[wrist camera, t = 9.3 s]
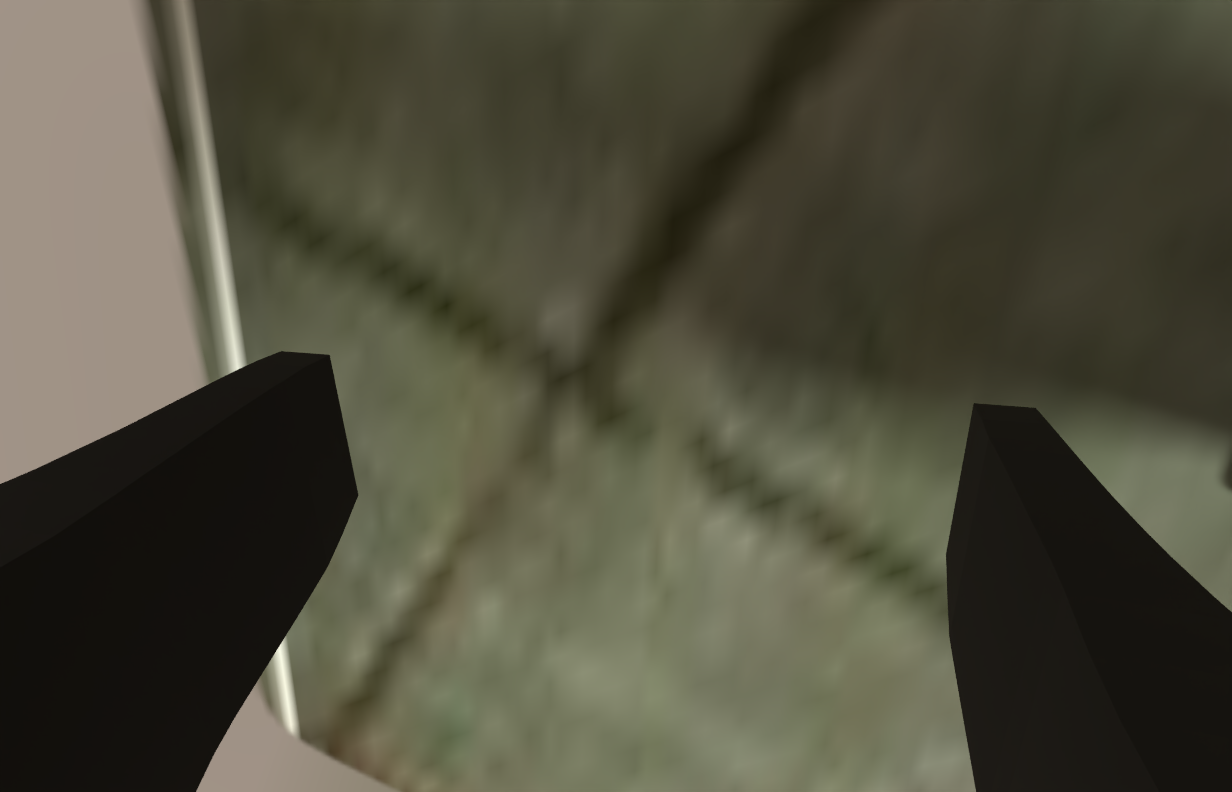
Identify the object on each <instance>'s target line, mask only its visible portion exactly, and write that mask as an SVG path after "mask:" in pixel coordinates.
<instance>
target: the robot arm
mask: <svg viewBox="0 0 1232 792" xmlns="http://www.w3.org/2000/svg"><path fill="white" fill-rule="evenodd" d="M357 497H358V491H357V486H356V481H355V477H354V472H353V467H352V462H351V457H350V452H349V447H348V442H347V438H346V433H345V428H344V423H343V418H342V413H341V408H340V403H339V399H338V394H337V389H336V384H335V379H334V374H333V369H332V364H331V360H330V355H324V354H310V353H297V352H284V351H281V352H278V353H276V354H273V355H271V356H268V357H265V358H263V359H260V360H258V361H256V362H254V363H251V364H249V365H247V366H245V367H243V368H241V369H239V370H237V371H234V372H232V373H230V374H228V375H226V376H224V377H222V378H220V379H218V380H216V381H214V382H212V383H210V384H208V385H206V386H204V387H202V388H200V389H199V390H197V391H195V392H193V393H191V394H189V395H187V396H185V397H183V398H181V399H179V400H177V401H175V402H173V403H171V404H169V405H167V406H165V407H163V408H161V409H159V410H157V411H155V412H153V413H152V414H150V415H148V416H146V417H144V418H142V419H140V420H138V421H136V422H134V423H132V424H130V425H128V426H126V427H124V428H122V429H120V430H118V431H116V432H114V433H112V434H109V435H107V436H105V437H103V438H101V439H99V440H96V441H94V442H92V443H90V444H88V445H86V446H84V447H82V448H79V449H77V450H75V451H73V452H71V453H69V454H67V455H65V456H62V457H60V458H58V459H56V460H54V461H52V462H50V463H48V464H46V465H43V466H41V467H39V468H37V469H35V470H32V471H30V472H28V473H25V474H23V475H21V476H18V477H16V478H14V479H12V480H9V481H7V482H4V483H2V484H0V792H196V790H197V788H198V786H199V784H200V782H201V780H202V778H203V776H204V774H205V772H206V770H207V767H208V765H209V763H210V761H211V759H212V757H213V755H214V753H215V752H216V750H217V748H218V746H219V744H220V742H221V741H222V739H223V737H224V735H225V734H226V732H227V730H228V728H229V727H230V725H231V723H232V721H233V720H234V718H235V716H236V714H237V713H238V711H239V710H240V708H241V707H242V705H243V703H244V701H245V700H246V698H247V697H248V695H249V694H250V692H251V691H252V689H253V687H254V686H255V684H256V683H257V681H258V679H259V678H260V676H261V675H262V673H263V671H264V670H265V668H266V666H267V665H268V663H269V662H270V660H271V658H272V657H273V655H274V654H275V652H276V650H277V649H278V647H279V646H280V644H281V642H282V641H283V639H284V638H285V636H286V634H287V633H288V631H289V630H290V628H291V626H292V625H293V623H294V622H295V620H296V618H297V617H298V615H299V613H300V612H301V610H302V609H303V607H304V605H305V604H306V602H307V600H308V599H309V597H310V595H311V594H312V592H313V590H314V589H315V587H316V585H317V584H318V582H319V580H320V579H321V577H322V575H323V574H324V572H325V570H326V569H327V567H328V565H329V563H330V561H331V558H332V556H333V554H334V552H335V549H336V547H337V545H338V543H339V541H340V538H341V536H342V534H343V532H344V529H345V527H346V524H347V522H348V519H349V517H350V514H351V512H352V509H353V507H354V504H355V502H356V499H357ZM946 565H947V595H948V617H949V637H950V643H951V649H952V655H953V661H954V667H955V673H956V679H957V685H958V691H959V696H960V702H961V708H962V714H963V719H964V725H965V731H966V736H967V742H968V748H969V753H970V759H971V765H972V770H973V776H974V782H975V787H976V792H1232V612H1231V611H1230V610H1228V609H1227V608H1226V607H1225V606H1224V605H1223V604H1221V603H1220V602H1219V601H1218V600H1217V599H1216V598H1215V597H1214V596H1213V595H1211V594H1210V593H1209V592H1208V591H1207V590H1206V589H1205V588H1204V587H1203V586H1202V585H1201V584H1200V583H1199V582H1198V581H1196V580H1195V579H1194V578H1193V577H1192V576H1191V575H1190V574H1189V573H1188V572H1187V571H1186V570H1185V569H1184V568H1183V567H1181V566H1180V565H1179V564H1178V563H1177V562H1176V561H1175V560H1174V559H1173V558H1172V557H1171V556H1170V555H1169V554H1168V553H1167V552H1166V551H1165V550H1164V549H1163V548H1162V547H1161V546H1160V545H1159V544H1158V543H1157V542H1156V541H1155V540H1154V539H1153V538H1152V537H1151V536H1150V535H1149V534H1148V533H1147V532H1146V531H1145V530H1144V529H1143V528H1142V527H1141V526H1140V525H1139V524H1138V523H1137V522H1136V521H1135V520H1134V519H1133V518H1132V517H1131V516H1130V515H1129V513H1128V512H1127V511H1126V510H1125V509H1124V508H1123V507H1122V506H1121V505H1120V504H1119V503H1118V502H1117V501H1116V500H1115V499H1114V497H1113V496H1112V495H1111V494H1110V493H1109V492H1108V491H1107V490H1106V489H1105V487H1104V486H1103V485H1102V484H1101V483H1100V482H1099V481H1098V480H1097V478H1096V477H1095V476H1094V475H1093V474H1092V473H1091V472H1090V470H1089V469H1088V468H1087V467H1086V466H1085V465H1084V464H1083V462H1082V461H1081V460H1080V459H1079V458H1078V457H1077V455H1076V454H1075V453H1074V452H1073V451H1072V450H1071V448H1070V447H1069V446H1068V445H1067V444H1066V443H1065V441H1064V440H1063V439H1062V438H1061V437H1060V436H1059V434H1058V433H1057V432H1056V431H1055V430H1054V429H1053V427H1052V426H1051V425H1050V424H1049V423H1048V422H1047V420H1046V419H1045V418H1044V417H1043V416H1042V415H1041V414H1040V412H1039V411H1038V410H1037V409H1036V408H1028V407H1015V406H1001V405H988V404H975V403H974V405H973V411H972V416H971V422H970V427H969V433H968V438H967V443H966V449H965V454H964V460H963V465H962V471H961V476H960V481H959V487H958V492H957V498H956V503H955V509H954V514H953V519H952V525H951V530H950V536H949V541H948V547H947V552H946Z"/></svg>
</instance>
